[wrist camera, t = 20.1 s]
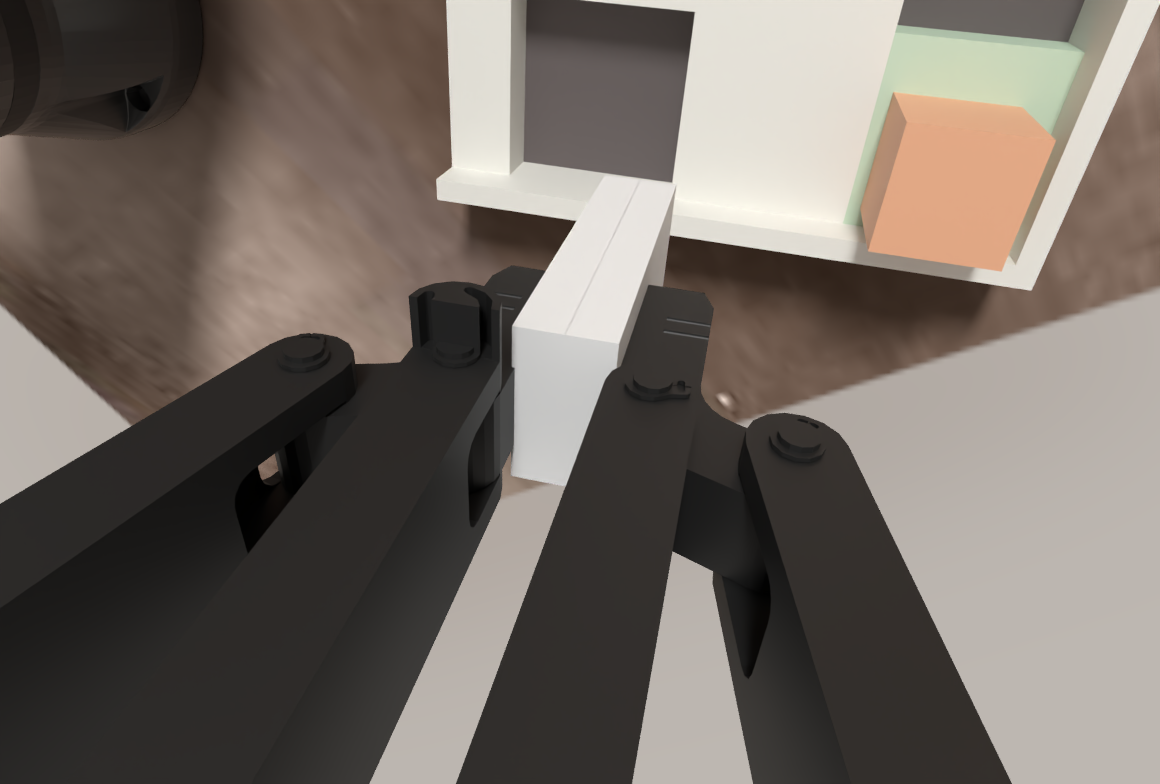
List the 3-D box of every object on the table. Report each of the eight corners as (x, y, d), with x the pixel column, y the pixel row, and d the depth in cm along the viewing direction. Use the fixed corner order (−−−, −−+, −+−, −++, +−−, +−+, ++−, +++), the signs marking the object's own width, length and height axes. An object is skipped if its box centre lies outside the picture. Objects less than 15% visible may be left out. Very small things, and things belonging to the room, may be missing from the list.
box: (470, 171, 40) (437, 199, 36) (461, -276, 30) (413, -299, 26) (1008, 249, 36) (1031, 290, 32) (1212, -244, 25) (1280, -266, 22)
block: (859, 208, 34) (867, 251, 30) (893, 92, 31) (906, 122, 27) (977, 224, 33) (1001, 271, 29) (1022, 107, 30) (1056, 140, 26)
